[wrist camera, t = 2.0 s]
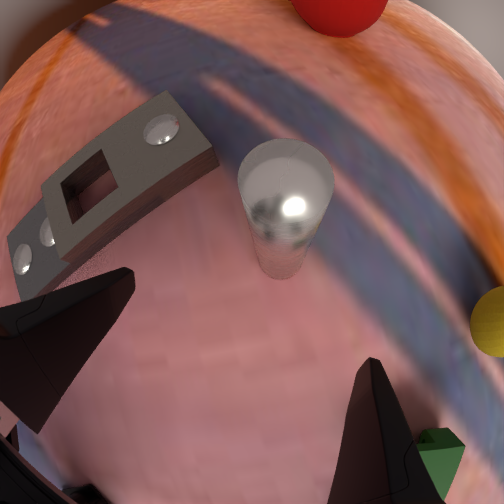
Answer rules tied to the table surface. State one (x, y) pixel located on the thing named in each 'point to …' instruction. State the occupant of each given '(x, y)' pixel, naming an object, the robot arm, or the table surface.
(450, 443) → the clamp
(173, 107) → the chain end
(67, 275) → the plate
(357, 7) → the ceramic cup
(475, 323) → the lemon
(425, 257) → the table surface
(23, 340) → the robot arm
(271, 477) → the table surface
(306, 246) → the steel pin
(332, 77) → the table surface
